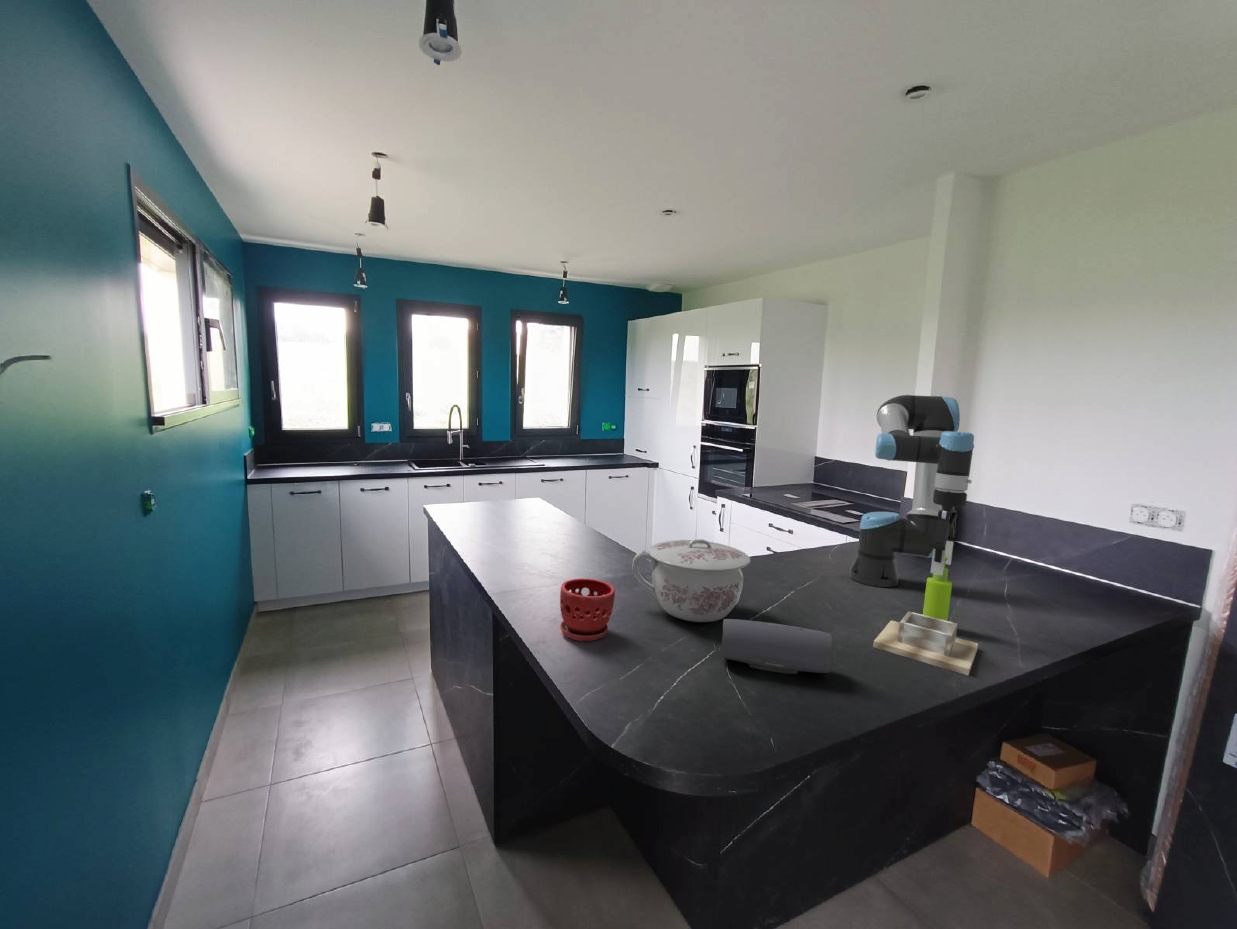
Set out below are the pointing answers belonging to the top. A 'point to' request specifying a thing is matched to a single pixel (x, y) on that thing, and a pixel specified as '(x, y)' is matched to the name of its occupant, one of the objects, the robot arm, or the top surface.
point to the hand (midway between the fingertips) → (940, 568)
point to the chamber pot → (694, 578)
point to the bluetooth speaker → (776, 646)
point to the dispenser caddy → (928, 642)
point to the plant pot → (586, 609)
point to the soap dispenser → (938, 595)
